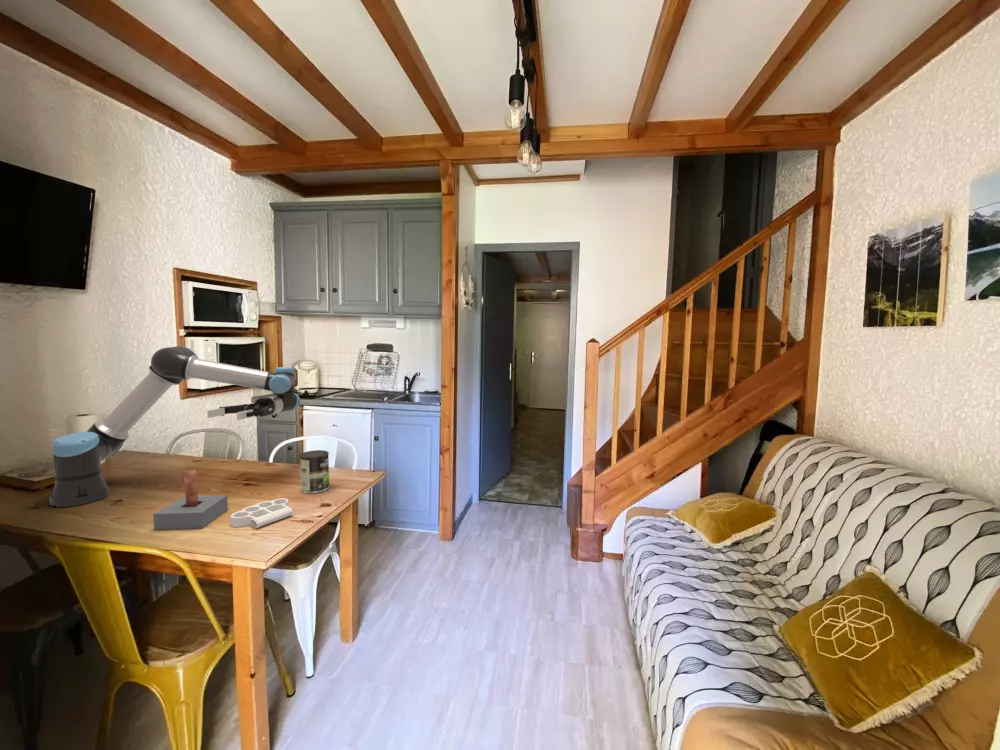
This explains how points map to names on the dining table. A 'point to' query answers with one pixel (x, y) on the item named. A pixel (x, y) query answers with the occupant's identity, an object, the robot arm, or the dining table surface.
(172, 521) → the socket block
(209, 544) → the dining table surface
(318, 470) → the coffee can
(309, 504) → the dining table surface
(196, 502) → the dowel
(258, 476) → the dining table surface
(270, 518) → the knuckle duster
